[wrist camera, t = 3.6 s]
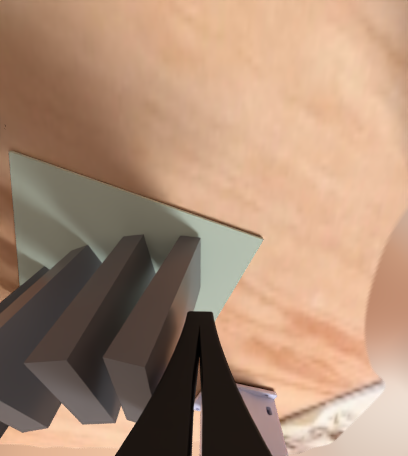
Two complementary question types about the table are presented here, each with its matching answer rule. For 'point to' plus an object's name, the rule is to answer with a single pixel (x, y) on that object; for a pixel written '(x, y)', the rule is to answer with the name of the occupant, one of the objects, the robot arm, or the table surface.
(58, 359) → the domino
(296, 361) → the table surface
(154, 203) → the mat
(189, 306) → the domino
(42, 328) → the domino
